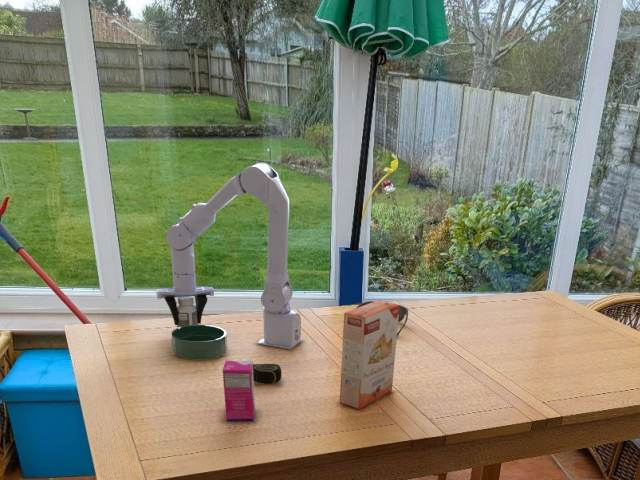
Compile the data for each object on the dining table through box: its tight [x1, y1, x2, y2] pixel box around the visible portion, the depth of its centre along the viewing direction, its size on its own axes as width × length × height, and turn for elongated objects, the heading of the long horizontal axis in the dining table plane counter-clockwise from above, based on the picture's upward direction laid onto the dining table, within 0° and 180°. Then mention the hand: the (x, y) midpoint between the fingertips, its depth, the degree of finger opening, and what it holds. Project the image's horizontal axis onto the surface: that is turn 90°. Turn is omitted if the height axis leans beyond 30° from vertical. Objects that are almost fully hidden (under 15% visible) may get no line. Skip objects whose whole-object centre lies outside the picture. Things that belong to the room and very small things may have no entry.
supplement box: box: [222, 359, 256, 423], centre depth 150 cm, size 6×6×12 cm
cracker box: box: [339, 299, 400, 410], centre depth 160 cm, size 14×6×21 cm, turn 148°
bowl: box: [170, 324, 228, 361], centre depth 183 cm, size 13×13×5 cm
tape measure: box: [253, 363, 282, 385], centre depth 169 cm, size 7×7×4 cm
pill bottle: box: [176, 296, 199, 328], centre depth 194 cm, size 5×5×10 cm
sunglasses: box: [354, 300, 409, 338], centre depth 211 cm, size 16×17×5 cm
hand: (187, 323), depth 195 cm, fingers closed on pill bottle, 5 cm apart
